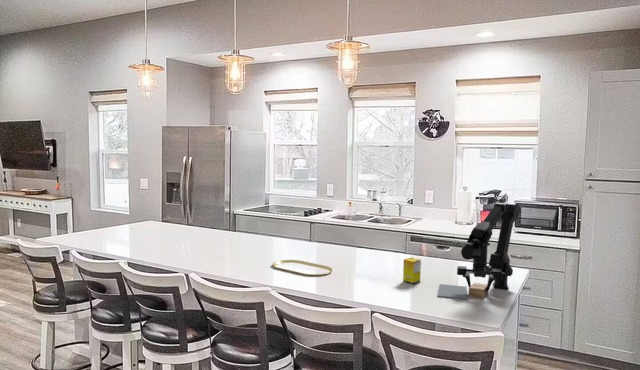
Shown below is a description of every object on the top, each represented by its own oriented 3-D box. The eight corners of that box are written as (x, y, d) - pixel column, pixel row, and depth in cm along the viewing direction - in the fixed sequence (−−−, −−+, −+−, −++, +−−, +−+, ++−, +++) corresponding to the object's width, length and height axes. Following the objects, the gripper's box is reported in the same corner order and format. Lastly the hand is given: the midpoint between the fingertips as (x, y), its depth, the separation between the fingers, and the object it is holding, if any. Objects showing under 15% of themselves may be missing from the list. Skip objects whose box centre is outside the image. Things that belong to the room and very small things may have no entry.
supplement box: (410, 279, 229) (411, 257, 228) (420, 282, 224) (421, 259, 223) (402, 281, 225) (403, 259, 224) (412, 284, 220) (413, 261, 219)
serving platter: (316, 279, 228) (316, 276, 228) (265, 267, 249) (265, 264, 249) (339, 271, 242) (339, 268, 242) (288, 260, 264) (288, 258, 264)
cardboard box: (474, 290, 213) (474, 282, 213) (488, 292, 210) (488, 284, 209) (468, 295, 204) (468, 287, 204) (482, 298, 201) (483, 289, 201)
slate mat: (439, 285, 220) (439, 284, 220) (466, 287, 216) (466, 286, 216) (437, 296, 202) (437, 295, 202) (466, 299, 199) (466, 298, 199)
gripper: (457, 258, 201) (456, 294, 202) (504, 262, 195) (502, 299, 197) (457, 253, 211) (456, 287, 213) (502, 256, 206) (500, 291, 207)
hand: (478, 291), depth 207 cm, fingers closed on cardboard box, 7 cm apart
